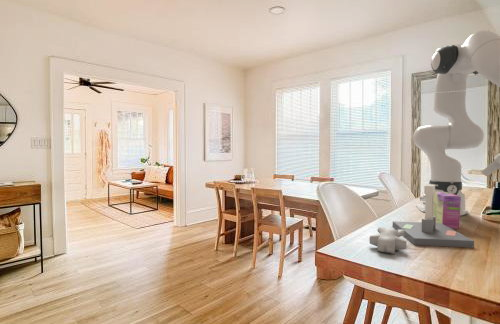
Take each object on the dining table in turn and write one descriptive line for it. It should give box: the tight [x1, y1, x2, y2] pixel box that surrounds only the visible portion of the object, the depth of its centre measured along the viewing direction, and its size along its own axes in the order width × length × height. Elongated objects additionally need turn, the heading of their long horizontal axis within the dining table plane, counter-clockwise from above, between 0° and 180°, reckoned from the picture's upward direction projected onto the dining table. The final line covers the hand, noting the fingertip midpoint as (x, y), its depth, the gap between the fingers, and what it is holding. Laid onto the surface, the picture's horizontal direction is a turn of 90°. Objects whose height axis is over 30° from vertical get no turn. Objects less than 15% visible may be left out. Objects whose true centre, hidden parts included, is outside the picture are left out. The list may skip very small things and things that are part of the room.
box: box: [433, 191, 461, 230], centre depth 108 cm, size 10×6×12 cm, turn 168°
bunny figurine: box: [369, 226, 407, 255], centre depth 84 cm, size 10×5×15 cm
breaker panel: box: [392, 216, 475, 249], centre depth 94 cm, size 20×16×6 cm
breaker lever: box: [423, 183, 435, 227], centre depth 94 cm, size 3×4×14 cm
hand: (483, 174), depth 85 cm, fingers closed
